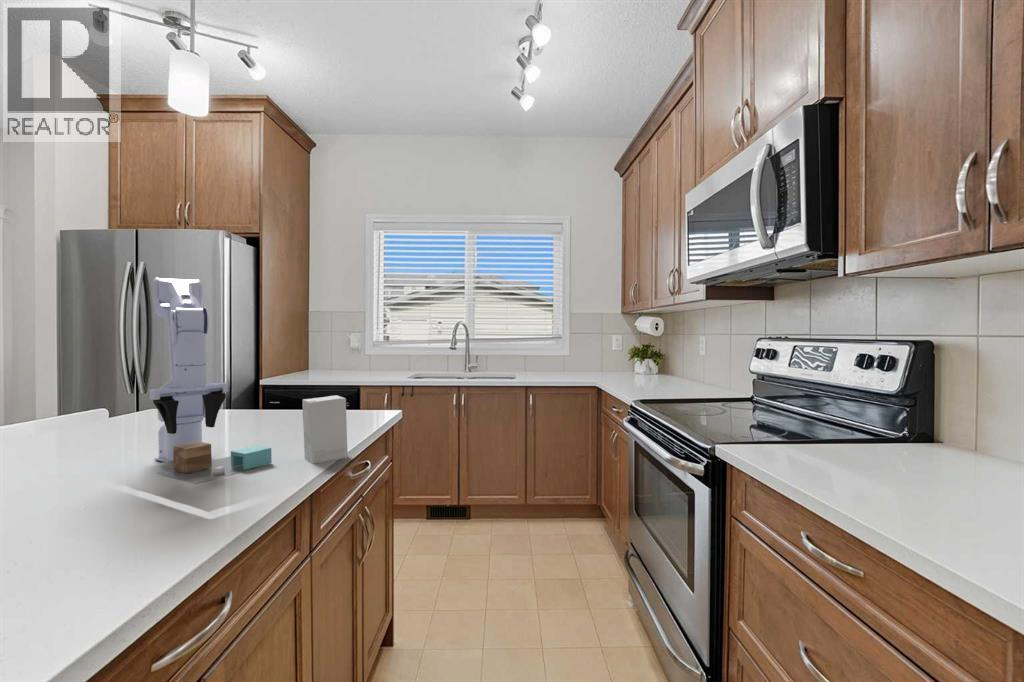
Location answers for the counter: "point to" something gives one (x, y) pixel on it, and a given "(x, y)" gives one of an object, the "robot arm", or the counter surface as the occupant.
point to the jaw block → (192, 457)
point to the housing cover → (251, 457)
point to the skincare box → (325, 429)
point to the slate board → (209, 471)
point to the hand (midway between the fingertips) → (191, 430)
